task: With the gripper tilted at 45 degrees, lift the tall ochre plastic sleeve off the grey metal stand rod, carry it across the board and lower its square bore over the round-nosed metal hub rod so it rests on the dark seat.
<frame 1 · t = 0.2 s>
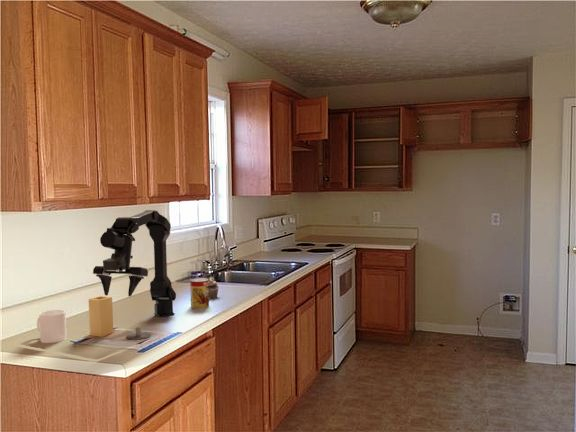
hand: (117, 295, 179), 15 cm above the worktop, tool tilted 15°, fingers open, 9 cm apart
canned food: (200, 306, 226), on the worktop
mug: (50, 341, 178), on the worktop
board: (120, 337, 181), on the worktop
cupcake: (208, 297, 244), on the worktop
sleeve: (101, 333, 183), point 1 cm above the worktop, touching board
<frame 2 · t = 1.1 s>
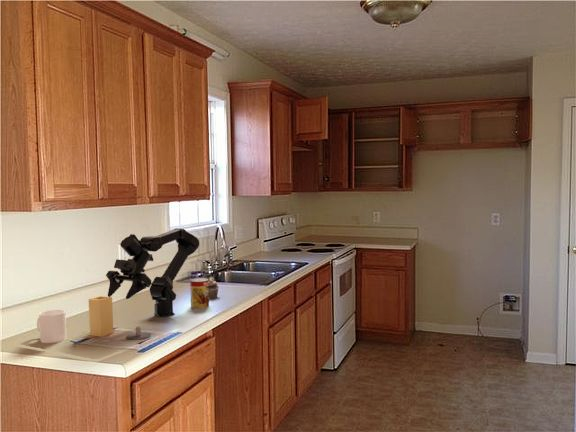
hand: (117, 297, 189), 12 cm above the worktop, tool tilted 45°, fingers open, 9 cm apart
nothing on the worktop moved.
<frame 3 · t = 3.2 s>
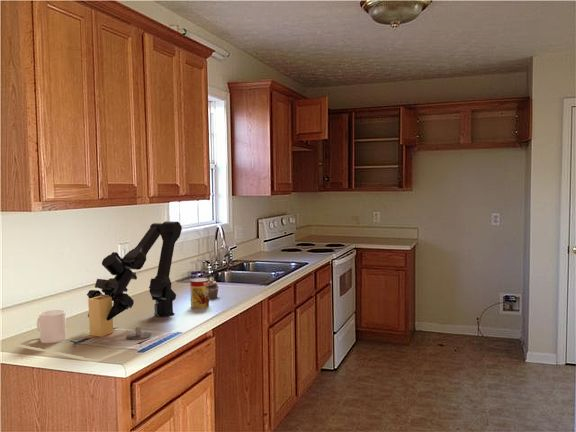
hand: (98, 318, 181), 7 cm above the worktop, tool tilted 45°, fingers open, 9 cm apart
sleeve: (101, 333, 183), point 1 cm above the worktop, touching board, gripper
everything else where it was.
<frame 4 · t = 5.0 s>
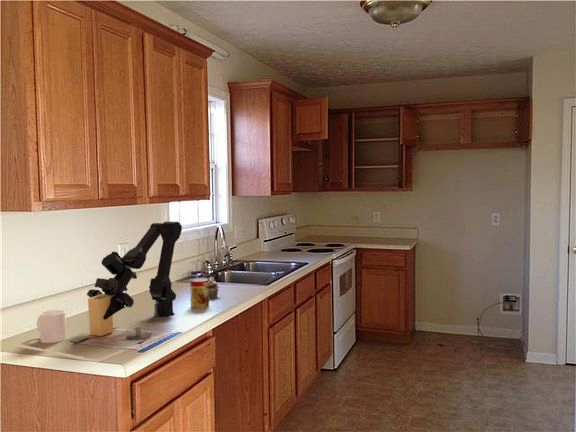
hand: (98, 318, 181), 7 cm above the worktop, tool tilted 45°, fingers closed on sleeve, 6 cm apart
sleeve: (101, 332, 183), point 1 cm above the worktop, touching gripper
everything else where it was.
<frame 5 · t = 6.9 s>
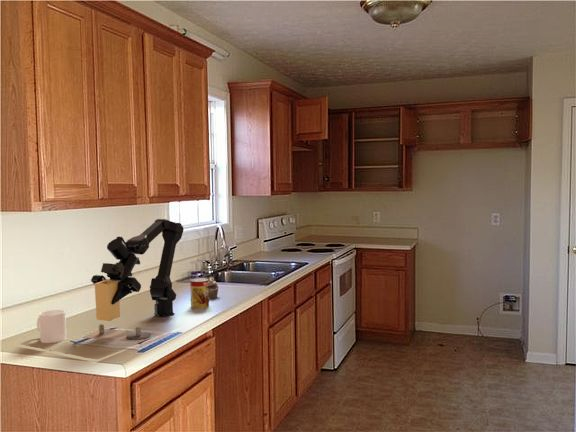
hand: (105, 303, 179), 13 cm above the worktop, tool tilted 45°, fingers closed on sleeve, 6 cm apart
sleeve: (108, 318, 181), point 7 cm above the worktop, touching gripper
everything else where it was.
when the fingers open (8 cm above the worktop, at t = 10.0 s): sleeve drops 1 cm, resting on board.
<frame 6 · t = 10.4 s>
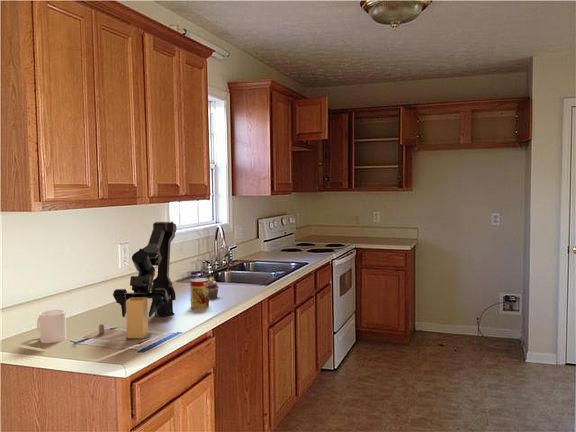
hand: (136, 316, 177), 8 cm above the worktop, tool tilted 45°, fingers open, 9 cm apart
sleeve: (138, 335, 179), point 1 cm above the worktop, touching board
everything else where it was.
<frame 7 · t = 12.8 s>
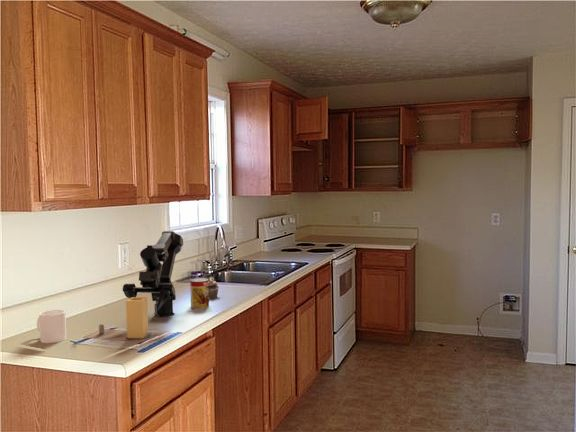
hand: (144, 309, 187), 8 cm above the worktop, tool tilted 45°, fingers open, 9 cm apart
nothing on the worktop moved.
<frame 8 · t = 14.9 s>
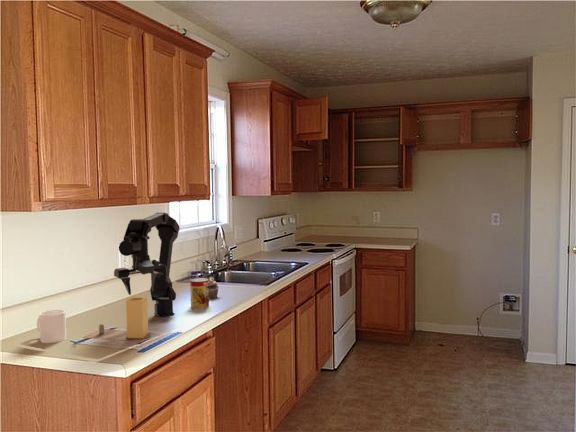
hand: (141, 293, 194), 13 cm above the worktop, tool pointing down, fingers open, 9 cm apart
nothing on the worktop moved.
at the end: sleeve 0.1 cm from the target spot on the board, point 1.1 cm above the board's base; sleeve tilted 0°; the gripper is holding nothing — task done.
